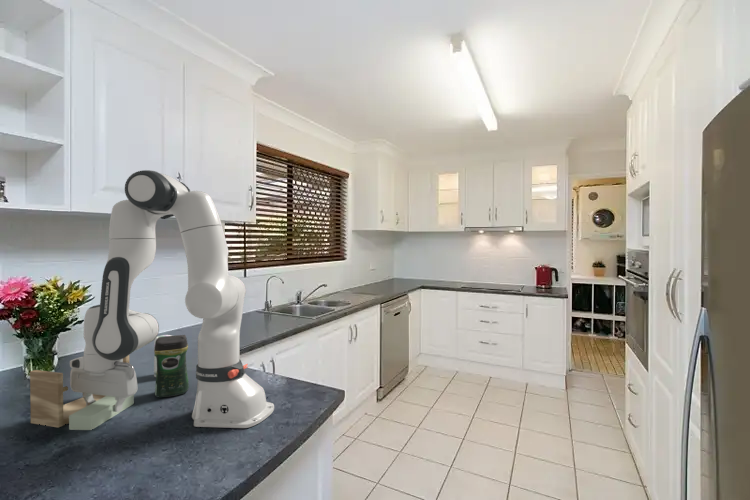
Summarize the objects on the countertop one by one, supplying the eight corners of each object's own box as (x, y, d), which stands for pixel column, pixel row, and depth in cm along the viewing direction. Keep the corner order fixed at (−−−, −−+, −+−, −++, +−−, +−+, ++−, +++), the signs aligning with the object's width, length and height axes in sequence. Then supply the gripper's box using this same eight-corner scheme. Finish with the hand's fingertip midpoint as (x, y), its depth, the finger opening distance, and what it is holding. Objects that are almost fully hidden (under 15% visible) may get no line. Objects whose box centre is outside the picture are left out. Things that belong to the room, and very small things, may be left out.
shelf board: (114, 404, 112) (114, 391, 112) (133, 404, 112) (133, 391, 112) (69, 431, 96) (69, 415, 96) (91, 431, 96) (91, 416, 96)
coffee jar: (189, 386, 126) (189, 332, 125) (187, 395, 118) (187, 337, 118) (156, 391, 122) (156, 334, 121) (152, 400, 114) (152, 340, 114)
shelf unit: (105, 393, 120) (104, 350, 120) (129, 396, 117) (129, 352, 117) (30, 423, 100) (30, 371, 100) (58, 427, 97) (57, 374, 97)
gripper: (143, 359, 104) (143, 408, 104) (87, 354, 109) (87, 401, 110) (122, 366, 98) (123, 418, 98) (64, 361, 103) (65, 410, 104)
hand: (104, 409), depth 104 cm, fingers open, 8 cm apart
